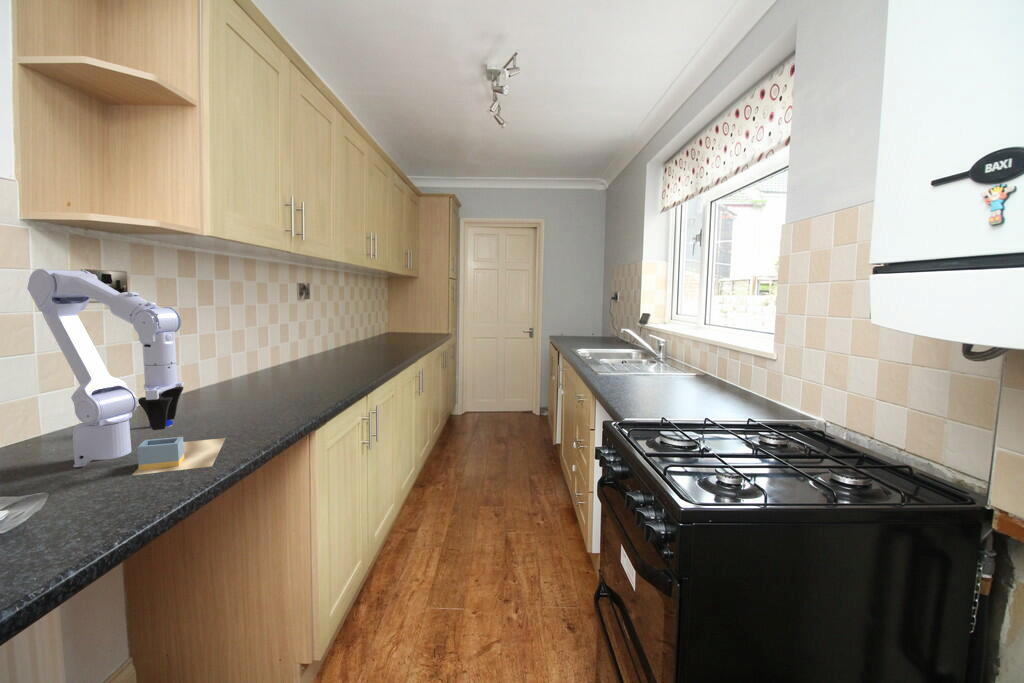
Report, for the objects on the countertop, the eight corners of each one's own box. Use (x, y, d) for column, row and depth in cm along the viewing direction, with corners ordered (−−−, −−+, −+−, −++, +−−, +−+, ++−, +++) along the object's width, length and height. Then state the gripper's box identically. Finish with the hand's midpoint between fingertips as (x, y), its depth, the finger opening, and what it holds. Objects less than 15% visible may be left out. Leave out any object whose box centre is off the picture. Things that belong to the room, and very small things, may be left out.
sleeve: (179, 466, 101) (177, 443, 100) (138, 470, 98) (137, 447, 98) (184, 458, 105) (183, 436, 105) (146, 462, 103) (144, 440, 102)
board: (132, 481, 96) (130, 458, 95) (159, 449, 114) (157, 430, 113) (212, 471, 101) (211, 450, 101) (225, 442, 120) (225, 424, 119)
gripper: (173, 368, 97) (177, 432, 98) (190, 357, 110) (193, 414, 111) (131, 369, 94) (135, 435, 95) (153, 358, 107) (157, 416, 109)
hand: (164, 424), depth 103 cm, fingers open, 7 cm apart
